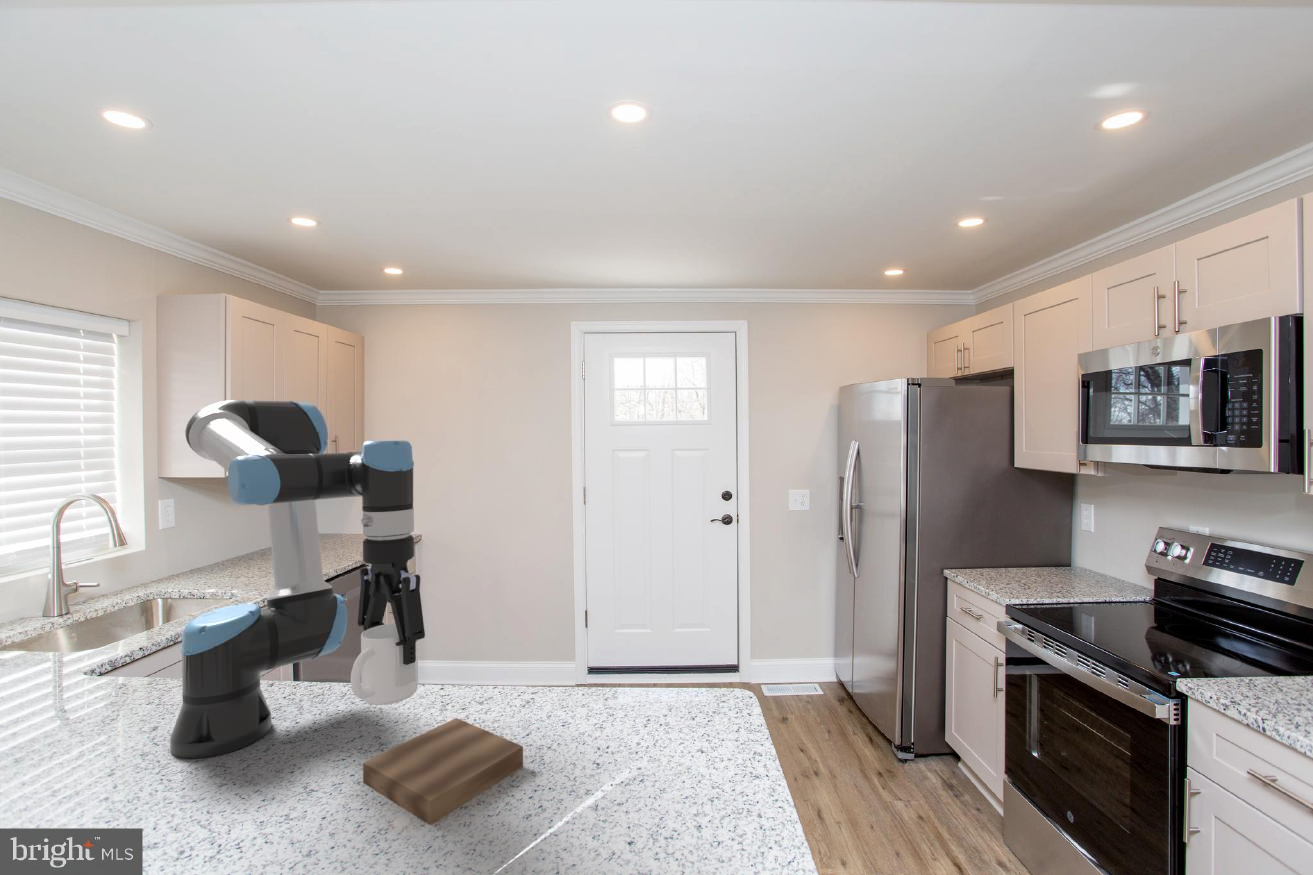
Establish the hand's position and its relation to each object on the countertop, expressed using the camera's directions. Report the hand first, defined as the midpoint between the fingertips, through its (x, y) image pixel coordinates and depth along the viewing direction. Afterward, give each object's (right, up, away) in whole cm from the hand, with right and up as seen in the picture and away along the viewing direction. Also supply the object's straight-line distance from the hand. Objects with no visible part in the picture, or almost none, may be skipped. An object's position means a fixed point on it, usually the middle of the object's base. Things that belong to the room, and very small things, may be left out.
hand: (390, 676), depth 94 cm
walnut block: (+7, -18, +4) cm, 20 cm away
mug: (-1, -3, -2) cm, 4 cm away
